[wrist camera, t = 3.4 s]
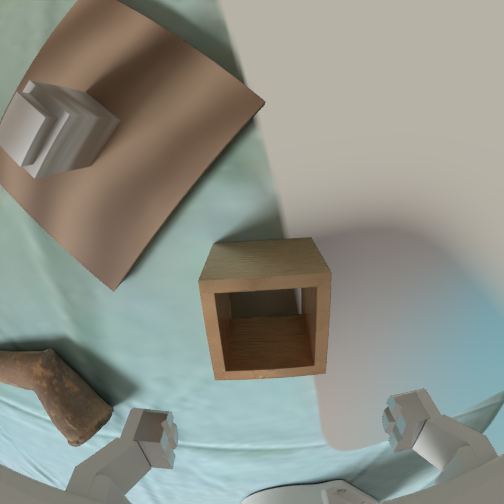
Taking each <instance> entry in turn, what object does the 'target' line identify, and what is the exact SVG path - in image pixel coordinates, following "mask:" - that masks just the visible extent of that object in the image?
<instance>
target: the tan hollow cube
mask: <svg viewBox="0 0 504 504" xmlns="http://www.w3.org/2000/svg"><path fill="white" fill-rule="evenodd" d="M198 283H199V289H200V296H201V302H202V309H203V315H204V321H205V327H206V333H207V339H208V344H209V350H210V356H211V361H212V366H213V372H214V377H215V380H246V379H267V378H282V377H295V376H306V375H316V374H325V373H326V363H327V350H328V335H329V318H330V299H331V271H330V269H329V267H328V266H327V264H326V262H325V260H324V259H323V257H322V255H321V254H320V252H319V250H318V248H317V247H316V245H315V243H314V241H313V240H312V238H311V237H310V238H293V239H276V240H260V241H245V242H229V243H214V244H213V246H212V248H211V250H210V253H209V255H208V258H207V260H206V263H205V265H204V268H203V270H202V273H201V275H200V278H199V280H198ZM292 288H301V289H302V290H301V292H302V314H297V315H283V316H268V317H251V318H232V314H231V306H230V297H229V292H244V291H261V290H277V289H292Z"/></svg>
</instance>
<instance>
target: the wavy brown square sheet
mask: <svg viewBox="0 0 504 504" xmlns="http://www.w3.org/2000/svg"><path fill="white" fill-rule="evenodd" d="M264 105H265V101H264V100H263V99H262V98H260V97H259V96H258V95H257V94H255V93H254V92H253V91H252V90H250V89H249V88H248V87H247V86H245V85H244V84H243V83H242V82H240V81H239V80H238V79H236V78H235V77H234V76H232V75H231V74H230V73H228V72H227V71H226V70H224V69H223V68H222V67H220V66H219V65H218V64H216V63H215V62H214V61H212V60H211V59H209V58H208V57H207V56H205V55H204V54H202V53H201V52H199V51H198V50H197V49H195V48H194V47H192V46H191V45H189V44H188V43H186V42H185V41H183V40H182V39H180V38H179V37H177V36H176V35H174V34H173V33H171V32H170V31H168V30H166V29H165V28H163V27H162V26H160V25H158V24H157V23H155V22H154V21H152V20H150V19H149V18H147V17H145V16H144V15H142V14H140V13H138V12H137V11H135V10H133V9H131V8H130V7H128V6H126V5H124V4H122V3H121V2H119V1H117V0H78V1H77V2H76V3H75V4H74V6H73V7H72V8H71V9H70V11H69V12H68V13H67V14H66V16H65V17H64V18H63V19H62V21H61V22H60V23H59V25H58V26H57V27H56V29H55V30H54V31H53V33H52V34H51V35H50V37H49V38H48V40H47V41H46V43H45V44H44V46H43V47H42V48H41V50H40V51H39V53H38V55H37V56H36V58H35V59H34V61H33V62H32V64H31V66H30V67H29V69H28V70H27V72H26V74H25V75H24V77H23V79H22V81H21V82H20V84H19V86H18V88H17V90H16V91H15V93H14V95H13V97H12V99H11V101H10V103H9V105H8V107H7V109H6V111H5V113H4V115H3V117H2V119H1V121H0V184H1V185H2V186H3V187H4V189H5V190H6V191H7V192H8V193H9V194H10V195H11V196H12V197H13V198H14V199H15V200H16V202H17V203H18V204H19V205H20V206H21V207H22V208H23V209H24V210H25V211H26V212H27V213H28V214H29V215H30V216H31V217H32V218H33V219H34V220H35V221H36V222H37V223H38V224H39V225H40V226H41V227H42V228H43V229H44V230H45V231H46V232H47V233H48V234H49V235H50V236H51V237H52V238H53V239H54V240H55V241H56V242H58V243H59V244H60V245H61V246H62V247H63V248H64V249H65V250H66V251H67V252H68V253H69V254H71V255H72V256H73V257H74V258H75V259H76V260H77V261H78V262H79V263H81V264H82V265H83V266H84V267H85V268H86V269H87V270H89V271H90V272H91V273H92V274H93V275H94V276H96V277H97V278H98V279H99V280H100V281H101V282H103V283H104V284H105V285H106V286H107V287H109V288H110V289H111V290H112V291H113V292H114V291H115V290H116V288H117V287H118V286H119V285H120V284H121V283H122V281H123V280H124V278H125V277H126V275H127V274H128V273H129V271H130V270H131V268H132V267H133V265H134V264H135V263H136V261H137V260H138V258H139V257H140V256H141V254H142V253H143V252H144V250H145V249H146V247H147V246H148V245H149V243H150V242H151V241H152V239H153V238H154V237H155V235H156V234H157V233H158V231H159V230H160V229H161V227H162V226H163V225H164V223H165V222H166V221H167V219H168V218H169V217H170V215H171V214H172V213H173V212H174V210H175V209H176V208H177V206H178V205H179V204H180V203H181V201H182V200H183V199H184V198H185V196H186V195H187V194H188V193H189V191H190V190H191V189H192V188H193V186H194V185H195V184H196V183H197V181H198V180H199V179H200V178H201V177H202V175H203V174H204V173H205V172H206V171H207V169H208V168H209V167H210V166H211V165H212V163H213V162H214V161H215V160H216V159H217V157H218V156H219V155H220V154H221V153H222V152H223V150H224V149H225V148H226V147H227V146H228V145H229V144H230V142H231V141H232V140H233V139H234V138H235V137H236V136H237V134H238V133H239V132H240V131H241V130H242V129H243V128H244V127H245V126H246V124H247V123H248V122H249V121H250V120H251V119H252V118H253V117H254V116H255V115H256V113H257V112H258V111H259V110H260V109H261V108H262V107H263V106H264Z"/></svg>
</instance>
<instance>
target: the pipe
mask: <svg viewBox="0 0 504 504" xmlns="http://www.w3.org/2000/svg"><path fill="white" fill-rule="evenodd" d="M0 382H3V383H6V384H10V385H13V386H16V387H19V388H24V389H28V390H33V391H34V392H35V393H36V394H37V396H38V398H39V400H40V401H41V403H42V405H43V407H44V408H45V410H46V412H47V413H48V415H49V417H50V418H51V420H52V422H53V423H54V425H55V426H56V427H57V429H58V430H59V431H60V432H61V433H62V434H63V435H64V436H65V438H67V439H68V443H69V445H71V446H75V447H77V446H80V445H81V444H83V443H85V442H86V441H88V440H89V439H90V438H91V437H92V436H93V435H94V434H96V433H97V432H98V431H99V430H100V429H101V428H102V426H104V425H105V424H106V423H107V422H108V421H109V420H110V418H111V415H112V412H113V411H114V409H113V407H112V406H111V405H108V404H107V403H106V402H105V401H104V400H103V399H102V398H101V397H100V396H99V395H98V394H97V393H96V392H95V391H94V390H93V389H92V388H91V387H90V386H89V385H88V384H87V383H86V382H85V380H83V379H82V378H81V377H80V376H79V375H78V374H77V373H76V372H75V371H74V370H72V369H71V368H70V367H69V366H68V365H67V364H66V363H65V362H64V361H63V360H62V359H61V358H60V357H59V356H58V355H57V354H56V353H55V352H54V351H53V350H52V349H47V350H45V351H2V350H0Z"/></svg>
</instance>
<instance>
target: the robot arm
mask: <svg viewBox="0 0 504 504" xmlns="http://www.w3.org/2000/svg"><path fill="white" fill-rule="evenodd" d="M387 405H388V407H387V408H386V409H385V410H384V412H383V416H382V418H383V419H382V420H383V421H382V423H383V427H384V430H385V432H386V433H388V434H389V435H390V438H389V443H390V445H391V448H392V450H393V452H398V451H402V450H406V449H410V448H412V449H413V450H414V451H416V452H417V453H418V454H419V455H421V456H422V457H423V458H425V459H426V460H427V461H428V462H430V463H431V464H432V465H434V466H435V467H436V468H438V469H439V470H440V471H442V472H441V474H440V475H439V476H438V477H437V479H436V480H435V482H434V484H435V486H432V487H429V488H427V489H424V490H421V491H418V492H415V493H412V494H408V495H405V496H402V497H399V498H395V499H392V500H388V501H384V502H380V503H378V501H377V500H376V499H375V498H373V497H371V496H369V495H367V494H366V493H364V492H362V491H360V490H359V489H357V488H355V487H353V486H352V485H350V484H348V483H347V482H345V481H343V480H335V481H330V482H325V483H321V484H315V485H296V486H286V487H279V488H273V489H269V490H265V491H261V492H258V493H255V494H253V495H250V496H248V497H247V498H245V499H244V500H243V501H242V502H241V504H504V454H502V455H501V456H499V457H498V455H497V453H496V452H495V450H494V448H493V447H492V445H491V443H490V442H489V440H488V438H487V437H486V436H485V435H483V434H481V433H479V432H477V431H475V430H473V429H471V428H469V427H467V426H465V425H463V424H461V423H460V422H458V421H456V420H454V419H452V418H450V417H448V416H446V415H441V414H440V412H439V411H438V409H437V407H436V405H435V404H434V402H433V401H432V399H431V397H430V396H429V394H428V392H427V391H426V390H425V389H419V390H415V391H410V392H406V393H402V394H397V395H393V396H390V397H389V398H388V400H387ZM173 418H174V417H173V415H172V412H170V411H159V410H150V409H140V408H133V409H132V410H131V411H130V413H129V416H128V418H127V421H126V424H125V426H124V429H123V432H122V434H121V437H120V438H116V439H115V440H113V441H112V442H110V443H109V444H108V445H106V446H105V447H103V448H102V449H101V450H99V451H98V452H96V453H95V454H94V455H92V456H91V457H89V458H88V459H86V460H85V461H83V462H82V463H80V464H79V465H78V466H76V467H75V469H74V471H73V474H72V476H71V478H70V481H69V483H68V486H67V488H66V491H63V490H60V489H57V488H55V487H52V486H49V485H47V484H44V483H41V482H39V481H37V480H34V479H32V478H29V477H27V476H25V475H22V474H20V473H18V472H16V471H14V470H12V469H10V468H8V467H6V466H3V465H1V464H0V504H131V502H130V501H129V500H128V499H127V498H126V497H125V496H124V495H125V494H126V493H127V492H128V491H129V490H130V489H131V488H132V487H133V486H134V485H135V484H136V483H137V482H138V481H139V480H140V479H141V478H142V477H143V476H144V475H145V474H146V473H147V472H148V471H149V470H150V469H151V467H155V468H166V469H173V464H174V459H175V454H174V452H173V450H174V449H175V448H176V447H177V444H178V429H177V426H176V424H174V423H173Z"/></svg>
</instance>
